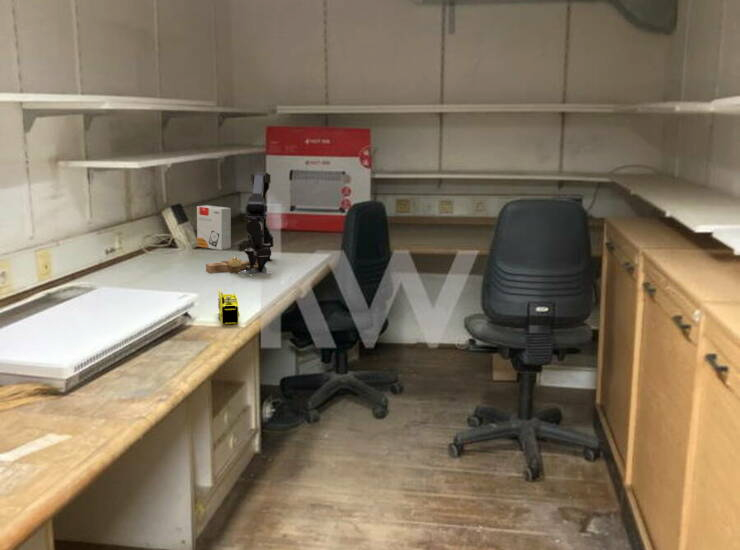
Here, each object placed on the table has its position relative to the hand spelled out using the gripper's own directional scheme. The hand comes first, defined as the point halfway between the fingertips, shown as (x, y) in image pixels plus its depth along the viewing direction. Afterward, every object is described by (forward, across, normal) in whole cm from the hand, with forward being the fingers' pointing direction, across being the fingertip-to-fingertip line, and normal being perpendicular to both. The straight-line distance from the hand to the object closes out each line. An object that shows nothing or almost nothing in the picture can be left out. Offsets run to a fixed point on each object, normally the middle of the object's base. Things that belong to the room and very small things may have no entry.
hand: (256, 270), depth 282 cm
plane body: (+1, -10, -6) cm, 11 cm away
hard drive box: (+2, -68, +3) cm, 68 cm away
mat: (+1, 0, 0) cm, 1 cm away
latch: (-2, -4, -8) cm, 9 cm away
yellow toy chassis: (+2, +63, -32) cm, 71 cm away
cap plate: (+1, 0, 0) cm, 1 cm away
